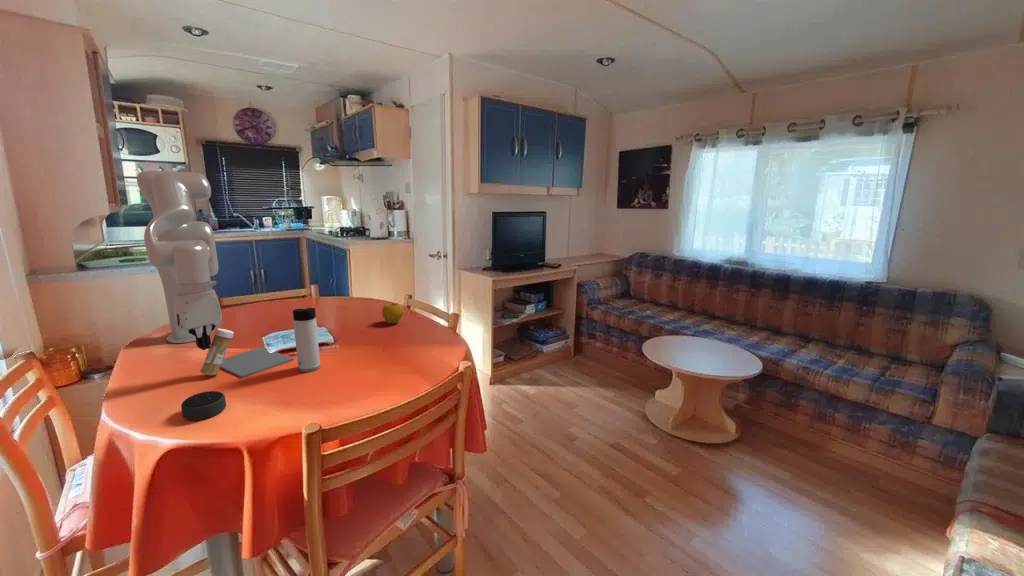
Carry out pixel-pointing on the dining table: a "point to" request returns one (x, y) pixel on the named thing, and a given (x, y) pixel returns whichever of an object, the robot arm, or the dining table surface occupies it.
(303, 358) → the travel mug
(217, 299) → the robot arm
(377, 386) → the dining table surface
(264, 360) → the rubber mat
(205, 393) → the smart speaker
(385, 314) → the apple
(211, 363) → the sprinkles bottle
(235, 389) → the dining table surface
